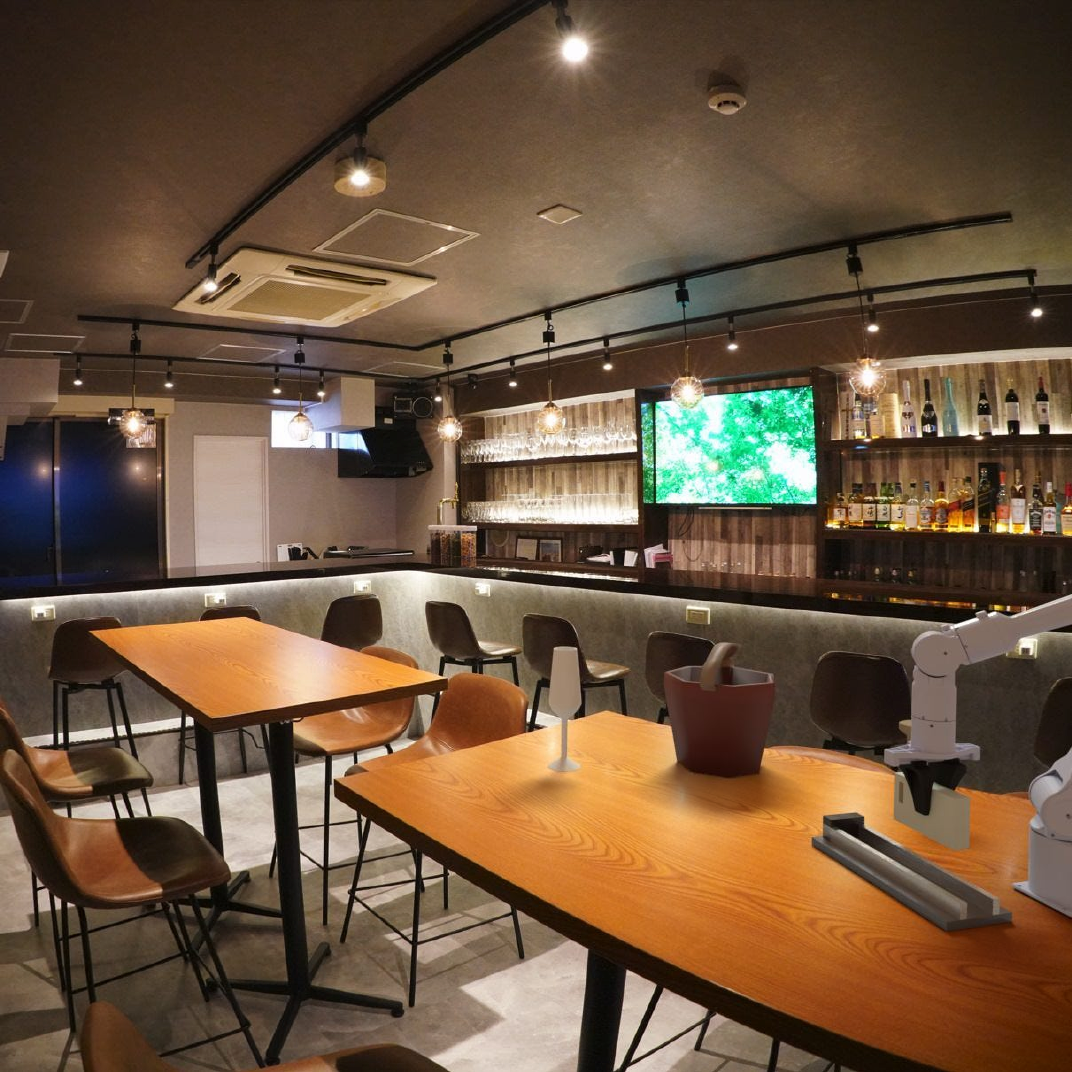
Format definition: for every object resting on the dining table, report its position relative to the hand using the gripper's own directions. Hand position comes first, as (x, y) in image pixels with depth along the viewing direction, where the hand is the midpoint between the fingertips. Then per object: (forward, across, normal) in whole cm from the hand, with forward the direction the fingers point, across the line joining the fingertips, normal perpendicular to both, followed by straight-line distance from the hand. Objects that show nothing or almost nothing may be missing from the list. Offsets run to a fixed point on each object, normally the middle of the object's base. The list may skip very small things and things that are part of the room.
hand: (931, 812), depth 118 cm
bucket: (+10, +3, -55) cm, 56 cm away
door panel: (+3, 0, 0) cm, 3 cm away
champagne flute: (+10, +35, -62) cm, 72 cm away
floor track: (+9, +4, 0) cm, 10 cm away
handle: (+9, -18, -25) cm, 32 cm away
